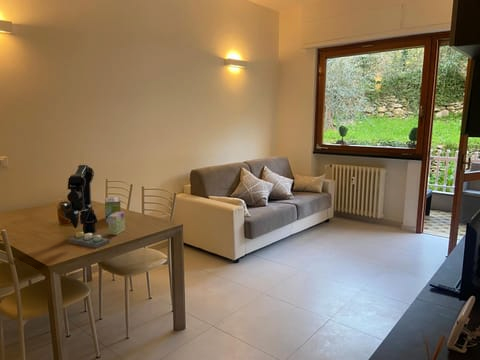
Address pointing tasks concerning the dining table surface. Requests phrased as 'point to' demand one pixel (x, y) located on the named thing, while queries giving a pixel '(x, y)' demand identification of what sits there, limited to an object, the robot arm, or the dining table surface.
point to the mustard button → (79, 234)
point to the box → (116, 223)
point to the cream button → (88, 236)
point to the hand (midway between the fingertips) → (79, 225)
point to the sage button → (97, 238)
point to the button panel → (88, 242)
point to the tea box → (112, 206)
